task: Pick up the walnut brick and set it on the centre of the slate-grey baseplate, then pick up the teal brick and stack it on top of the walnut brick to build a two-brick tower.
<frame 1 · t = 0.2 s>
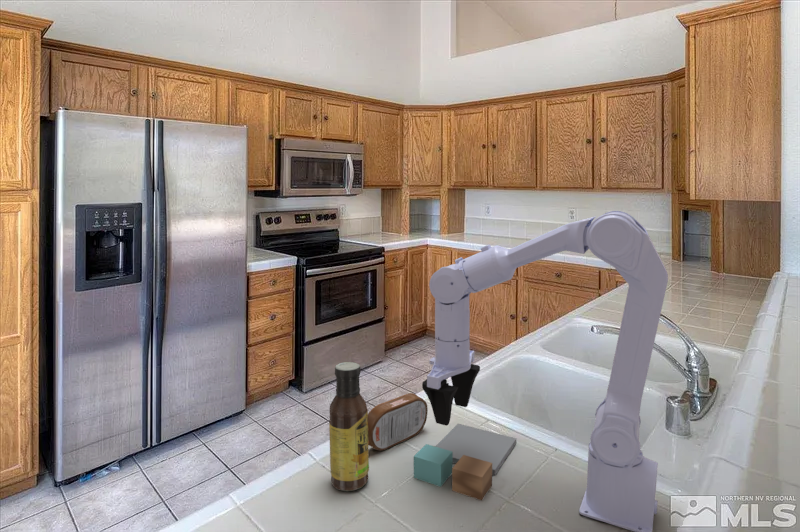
hand: (452, 414, 81), 10 cm above the countertop, fingers open, 7 cm apart
teal brick: (433, 475, 80), on the countertop
walnut brick: (472, 488, 76), on the countertop
baseplate: (474, 449, 88), on the countertop
tin: (397, 442, 91), on the countertop
sauce bottle: (350, 483, 78), on the countertop
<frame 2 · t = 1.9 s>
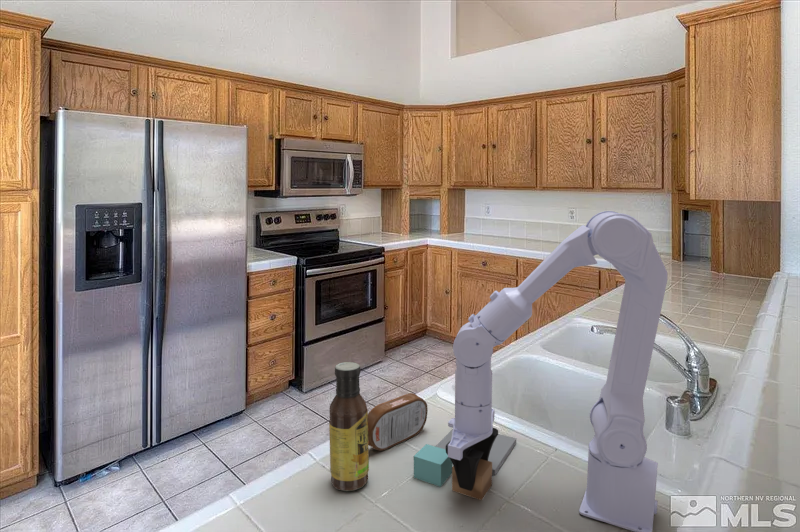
hand: (472, 479, 76), 1 cm above the countertop, fingers closed on walnut brick, 4 cm apart
walnut brick: (472, 487, 76), on the countertop, touching gripper
everything else where it was.
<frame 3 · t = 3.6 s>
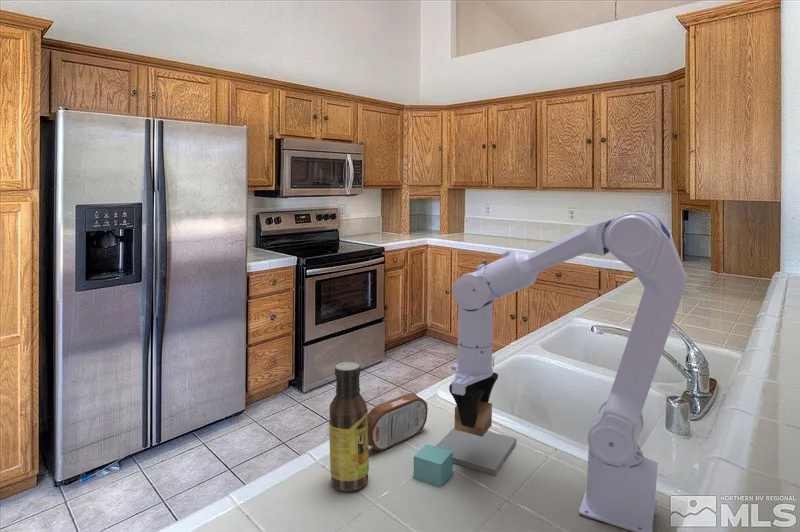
hand: (473, 419, 81), 8 cm above the countertop, fingers closed on walnut brick, 4 cm apart
walnut brick: (473, 427, 82), point 7 cm above the countertop, touching gripper
everything else where it was.
when the fingers open (3 cm above the countertop, at t = 5.3 s): walnut brick stays where it is, resting on baseplate.
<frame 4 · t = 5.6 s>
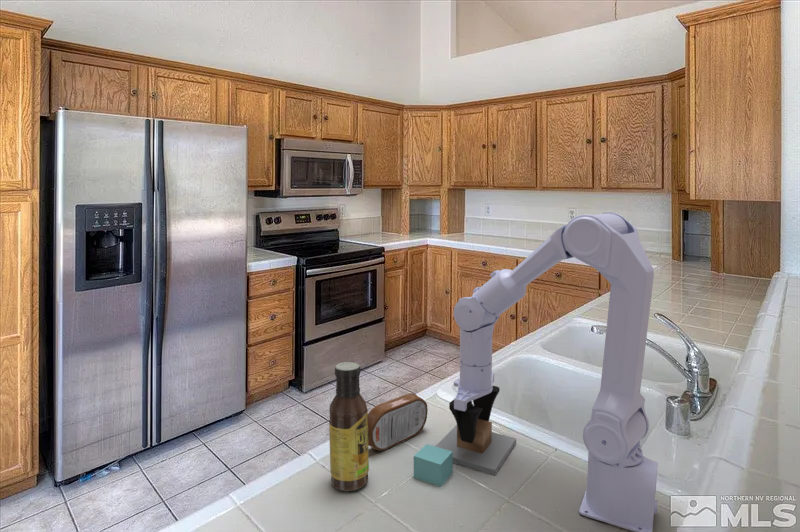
hand: (474, 432, 87), 3 cm above the countertop, fingers open, 7 cm apart
walnut brick: (474, 444, 88), point 1 cm above the countertop, touching baseplate
everything else where it was.
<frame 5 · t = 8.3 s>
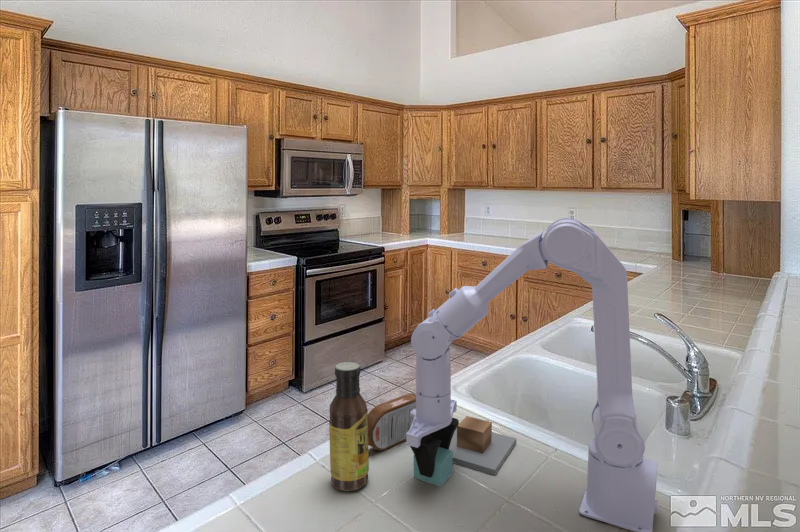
hand: (433, 467, 80), 1 cm above the countertop, fingers closed on teal brick, 4 cm apart
teal brick: (433, 475, 80), on the countertop, touching gripper
everything else where it was.
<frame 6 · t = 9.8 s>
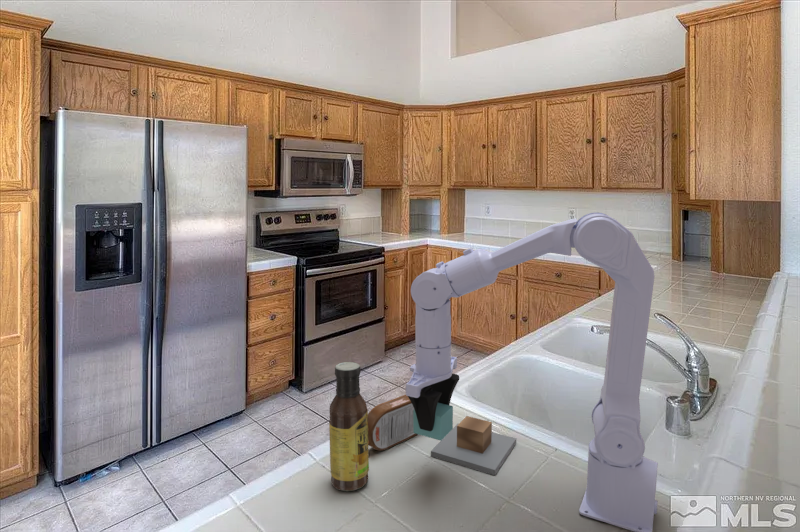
hand: (433, 422, 78), 9 cm above the countertop, fingers closed on teal brick, 4 cm apart
teal brick: (433, 430, 79), point 8 cm above the countertop, touching gripper
everything else where it was.
when the fingers open (7 cm above the countertop, at t = 11.6 s): teal brick stays where it is, resting on walnut brick.
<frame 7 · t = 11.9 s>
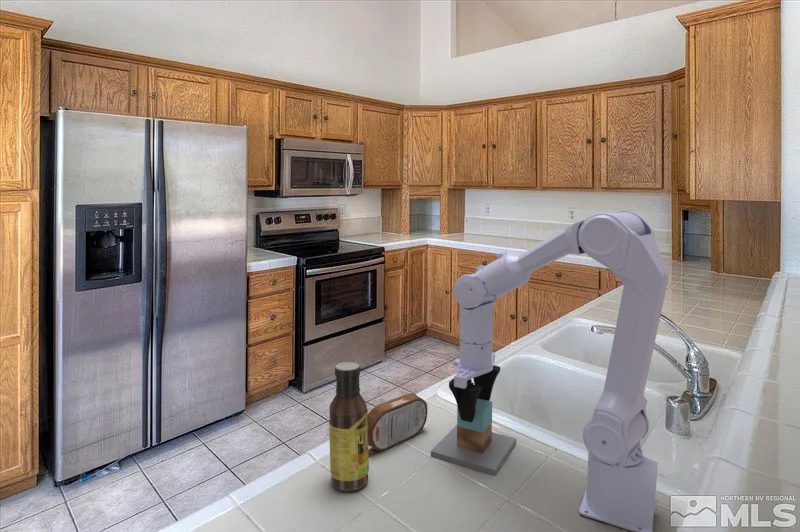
hand: (475, 411, 87), 7 cm above the countertop, fingers open, 7 cm apart
teal brick: (474, 424, 87), point 5 cm above the countertop, touching walnut brick
walnut brick: (474, 444, 88), point 1 cm above the countertop, touching baseplate, teal brick
everything else where it was.
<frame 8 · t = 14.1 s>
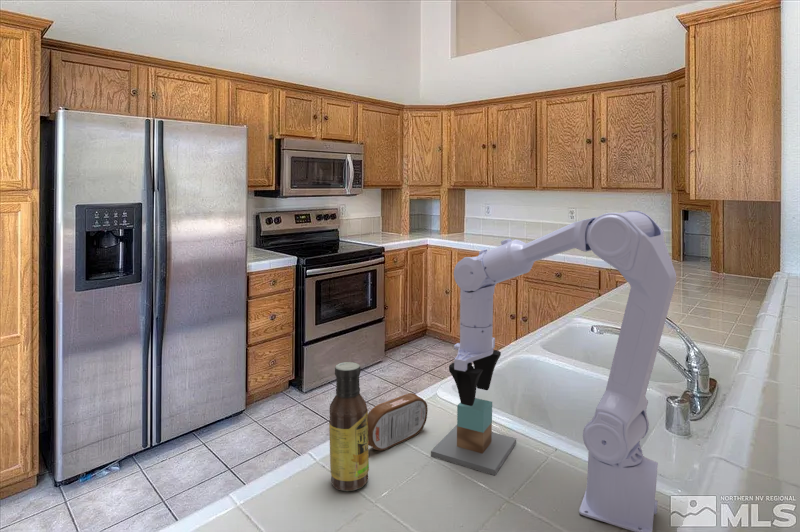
hand: (475, 396, 86), 10 cm above the countertop, fingers open, 7 cm apart
nothing on the countertop moved.
at the end: walnut brick 0.1 cm off-centre on the baseplate, point 1.0 cm above the baseplate's base; teal brick 0.1 cm off-centre on the walnut brick, point 4.0 cm above the walnut brick's base; teal brick tilted 0° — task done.
